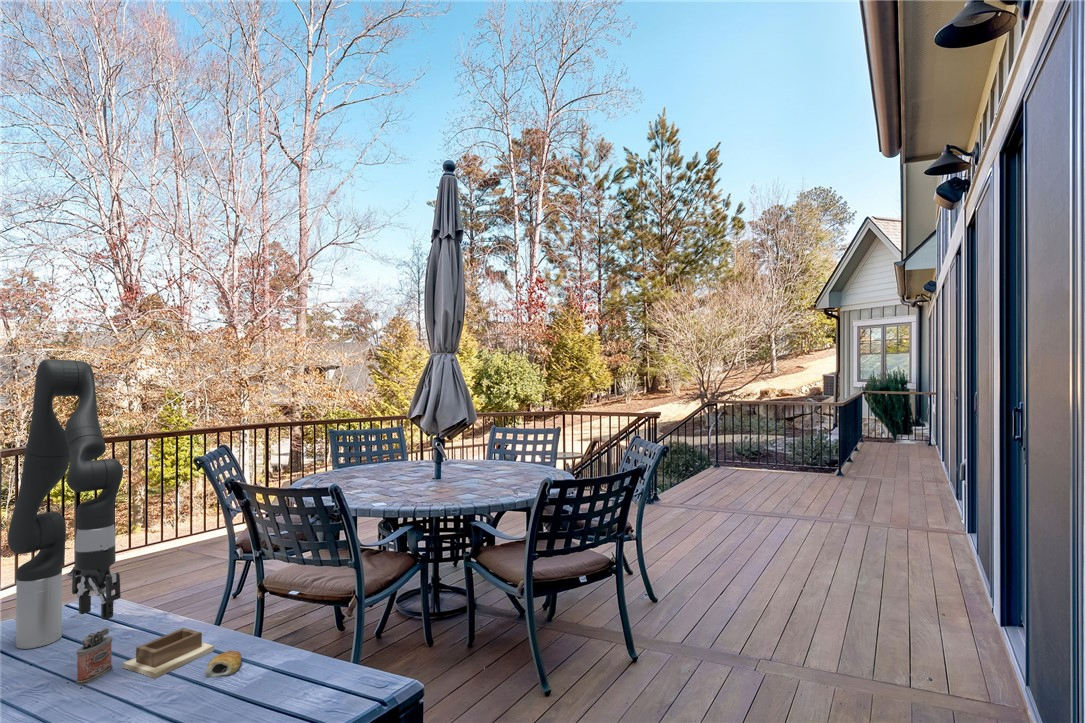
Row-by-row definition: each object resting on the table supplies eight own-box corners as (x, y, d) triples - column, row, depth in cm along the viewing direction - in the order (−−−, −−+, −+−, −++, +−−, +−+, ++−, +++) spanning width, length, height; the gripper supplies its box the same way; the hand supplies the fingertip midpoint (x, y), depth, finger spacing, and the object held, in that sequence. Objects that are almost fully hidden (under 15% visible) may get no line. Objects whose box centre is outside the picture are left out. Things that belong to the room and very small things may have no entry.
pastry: (219, 659, 148) (219, 644, 148) (248, 658, 149) (248, 642, 149) (203, 679, 139) (203, 662, 139) (234, 677, 140) (235, 660, 140)
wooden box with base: (122, 667, 144) (122, 648, 144) (182, 641, 158) (182, 623, 158) (155, 678, 139) (155, 657, 139) (214, 650, 153) (214, 631, 153)
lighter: (84, 685, 136) (84, 641, 136) (72, 684, 137) (72, 639, 137) (116, 668, 144) (116, 626, 144) (104, 667, 144) (104, 625, 145)
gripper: (59, 547, 140) (59, 617, 140) (97, 553, 134) (97, 626, 134) (94, 538, 147) (94, 605, 147) (131, 544, 141) (132, 614, 141)
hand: (96, 615), depth 140 cm, fingers open, 8 cm apart
